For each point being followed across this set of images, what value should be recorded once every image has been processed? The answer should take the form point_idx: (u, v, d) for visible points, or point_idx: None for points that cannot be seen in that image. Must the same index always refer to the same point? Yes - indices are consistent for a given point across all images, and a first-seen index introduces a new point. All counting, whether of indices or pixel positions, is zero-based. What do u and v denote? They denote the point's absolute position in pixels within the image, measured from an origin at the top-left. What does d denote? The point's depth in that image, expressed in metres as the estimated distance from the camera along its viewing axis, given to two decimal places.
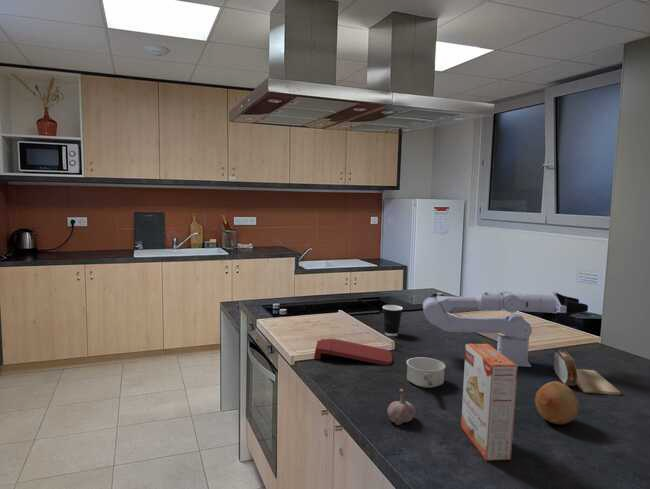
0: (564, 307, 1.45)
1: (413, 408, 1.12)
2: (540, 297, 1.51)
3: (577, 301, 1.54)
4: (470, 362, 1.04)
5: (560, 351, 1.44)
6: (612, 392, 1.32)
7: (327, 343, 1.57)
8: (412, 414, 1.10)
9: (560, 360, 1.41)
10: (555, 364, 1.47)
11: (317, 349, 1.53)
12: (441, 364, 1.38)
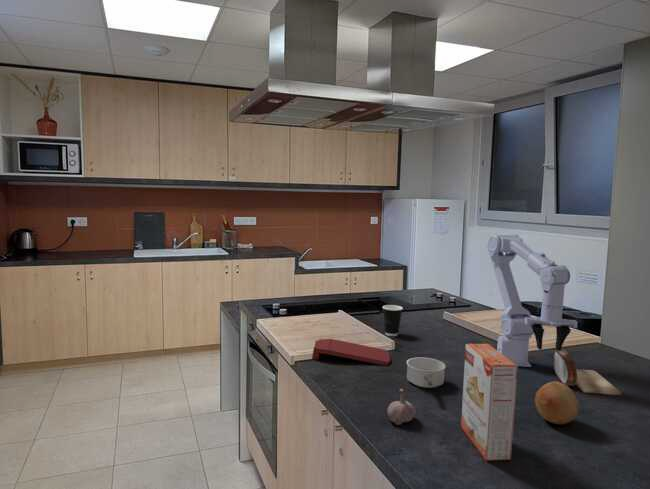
0: (526, 322, 1.41)
1: (413, 408, 1.12)
2: (549, 307, 1.38)
3: (557, 348, 1.41)
4: (470, 362, 1.04)
5: (560, 351, 1.44)
6: (612, 392, 1.32)
7: (325, 343, 1.57)
8: (412, 414, 1.10)
9: (560, 360, 1.41)
10: (555, 364, 1.47)
11: (315, 349, 1.53)
12: (441, 364, 1.38)
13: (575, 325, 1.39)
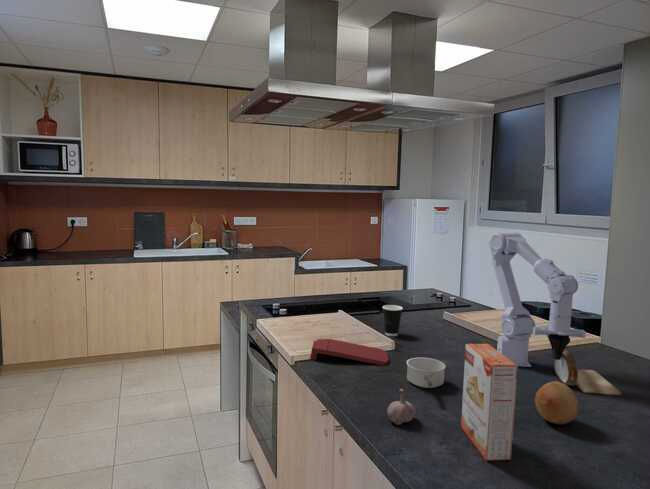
0: (534, 332, 1.41)
1: (413, 408, 1.12)
2: (557, 317, 1.38)
3: None
4: (470, 362, 1.04)
5: None
6: (612, 392, 1.32)
7: (323, 343, 1.57)
8: (412, 414, 1.10)
9: (561, 360, 1.41)
10: (556, 364, 1.47)
11: (313, 349, 1.53)
12: (441, 364, 1.38)
13: (583, 335, 1.39)
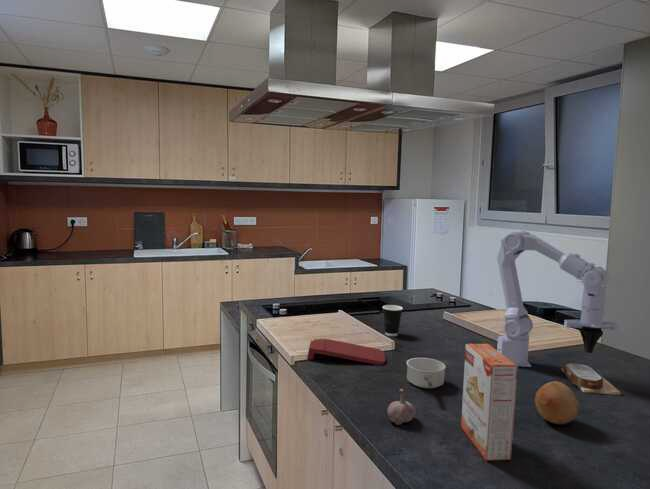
0: (566, 325, 1.39)
1: (413, 408, 1.12)
2: (590, 309, 1.37)
3: None
4: (470, 362, 1.04)
5: None
6: (612, 392, 1.32)
7: (320, 343, 1.57)
8: (412, 414, 1.10)
9: (590, 372, 1.40)
10: (573, 365, 1.46)
11: (310, 349, 1.53)
12: (441, 365, 1.38)
13: (616, 328, 1.37)
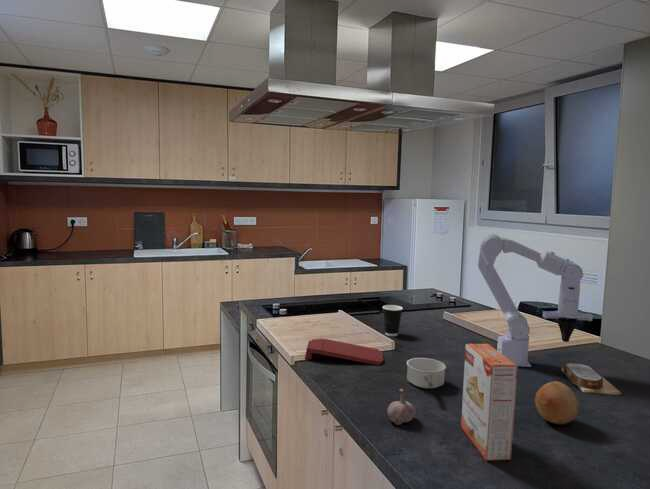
0: (544, 316, 1.50)
1: (413, 408, 1.12)
2: (566, 301, 1.47)
3: None
4: (470, 362, 1.04)
5: None
6: (612, 392, 1.32)
7: (318, 343, 1.57)
8: (412, 414, 1.10)
9: (590, 372, 1.40)
10: (573, 365, 1.46)
11: (308, 349, 1.53)
12: (441, 365, 1.38)
13: (590, 318, 1.48)
